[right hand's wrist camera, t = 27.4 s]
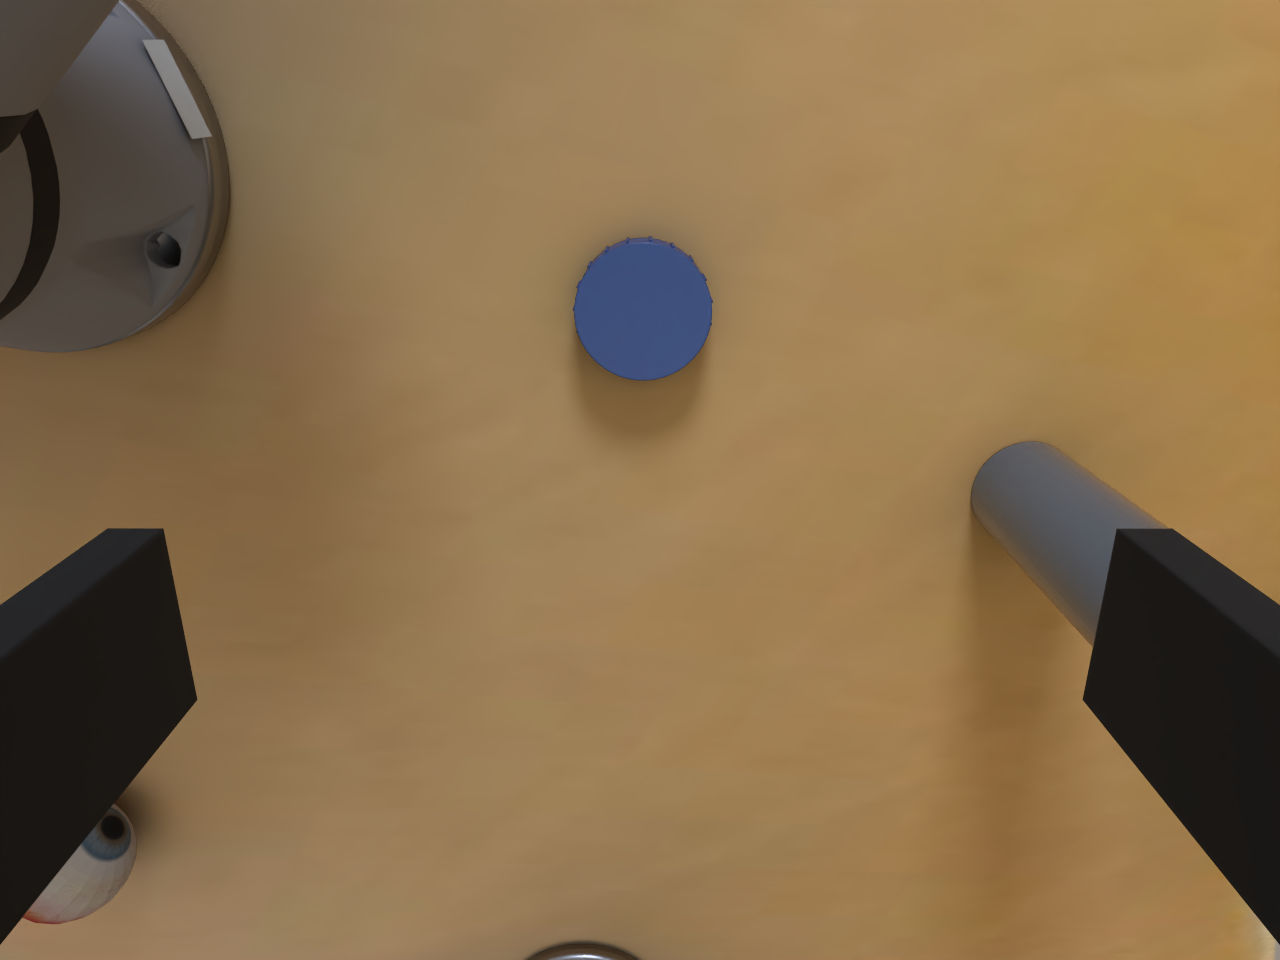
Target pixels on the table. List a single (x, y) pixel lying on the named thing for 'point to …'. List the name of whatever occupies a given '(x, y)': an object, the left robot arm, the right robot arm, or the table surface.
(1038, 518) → the jar
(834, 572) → the table surface
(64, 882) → the eyeball
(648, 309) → the lid
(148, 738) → the right robot arm
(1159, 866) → the table surface
